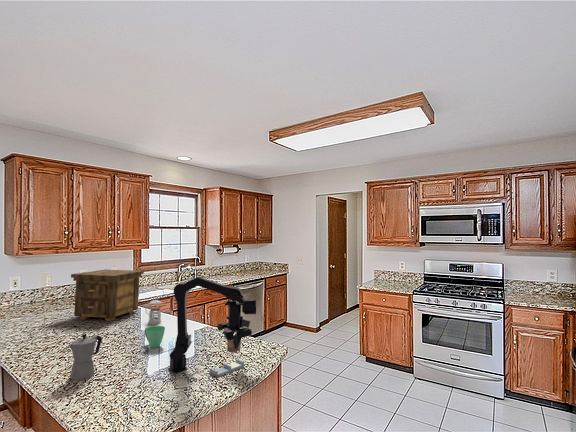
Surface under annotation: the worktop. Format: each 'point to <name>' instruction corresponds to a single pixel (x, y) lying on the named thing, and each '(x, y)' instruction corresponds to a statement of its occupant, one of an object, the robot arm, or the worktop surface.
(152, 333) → the green cup
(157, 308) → the french press
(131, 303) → the wooden drawer cabinet
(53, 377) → the worktop surface
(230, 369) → the bracket
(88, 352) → the coffeepot
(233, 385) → the worktop surface
